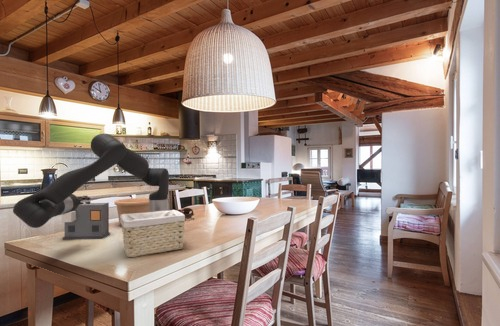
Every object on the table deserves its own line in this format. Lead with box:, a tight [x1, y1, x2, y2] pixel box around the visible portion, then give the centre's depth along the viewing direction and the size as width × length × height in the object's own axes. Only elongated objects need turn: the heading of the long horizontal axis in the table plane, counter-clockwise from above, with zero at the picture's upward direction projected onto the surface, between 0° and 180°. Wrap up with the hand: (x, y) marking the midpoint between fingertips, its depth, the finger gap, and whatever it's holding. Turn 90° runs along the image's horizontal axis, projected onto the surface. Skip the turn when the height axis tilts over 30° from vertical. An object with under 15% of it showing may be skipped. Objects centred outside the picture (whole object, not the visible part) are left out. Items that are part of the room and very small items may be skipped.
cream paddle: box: [61, 211, 77, 223], centre depth 133 cm, size 5×4×4 cm
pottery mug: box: [176, 207, 195, 220], centre depth 183 cm, size 12×10×8 cm
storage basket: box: [120, 209, 186, 258], centre depth 118 cm, size 24×16×15 cm
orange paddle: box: [91, 210, 101, 220], centre depth 138 cm, size 5×4×4 cm
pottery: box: [114, 197, 149, 228], centre depth 167 cm, size 22×22×14 cm
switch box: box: [62, 202, 111, 240], centre depth 139 cm, size 8×18×16 cm, turn 94°
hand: (85, 198), depth 127 cm, fingers closed
